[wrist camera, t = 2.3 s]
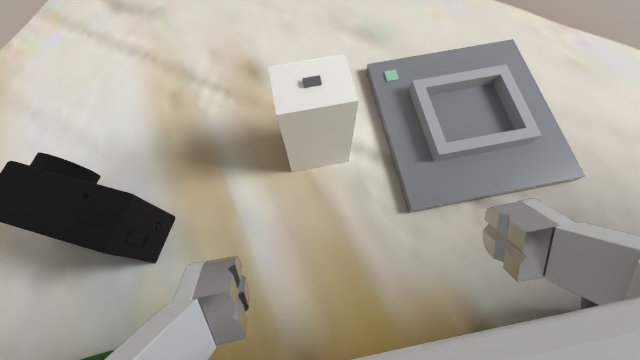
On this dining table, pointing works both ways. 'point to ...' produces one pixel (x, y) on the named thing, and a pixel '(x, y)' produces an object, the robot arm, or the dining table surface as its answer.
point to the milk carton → (99, 356)
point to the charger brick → (315, 110)
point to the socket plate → (468, 125)
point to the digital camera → (80, 209)
